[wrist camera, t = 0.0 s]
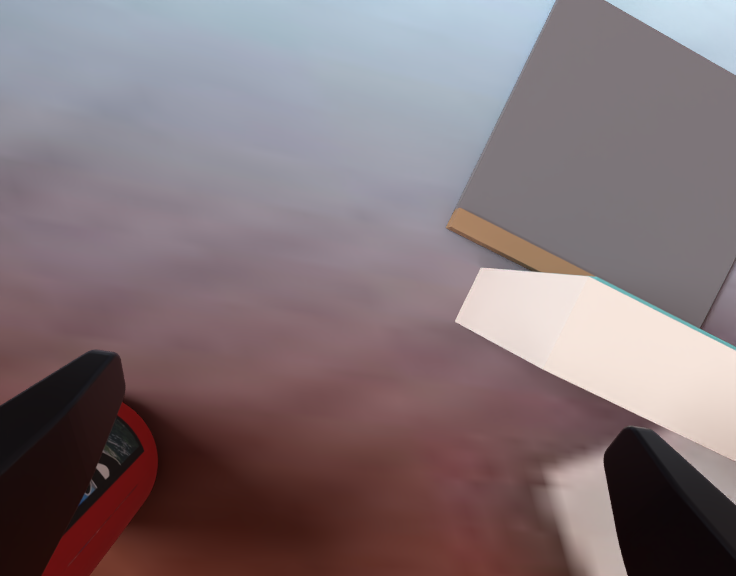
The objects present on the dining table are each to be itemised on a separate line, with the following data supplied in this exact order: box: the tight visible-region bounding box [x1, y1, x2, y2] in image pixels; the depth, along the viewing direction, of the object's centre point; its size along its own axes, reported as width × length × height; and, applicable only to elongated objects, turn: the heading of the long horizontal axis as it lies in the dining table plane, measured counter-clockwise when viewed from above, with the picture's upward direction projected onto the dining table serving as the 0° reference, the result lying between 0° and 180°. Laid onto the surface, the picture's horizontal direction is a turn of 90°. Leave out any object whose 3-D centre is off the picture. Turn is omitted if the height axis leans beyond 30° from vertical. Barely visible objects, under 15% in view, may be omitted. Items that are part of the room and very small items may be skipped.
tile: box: [455, 268, 736, 462], centre depth 19 cm, size 3×9×10 cm, turn 64°
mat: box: [446, 0, 736, 329], centre depth 23 cm, size 13×14×1 cm
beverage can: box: [42, 402, 158, 576], centre depth 17 cm, size 7×7×12 cm
